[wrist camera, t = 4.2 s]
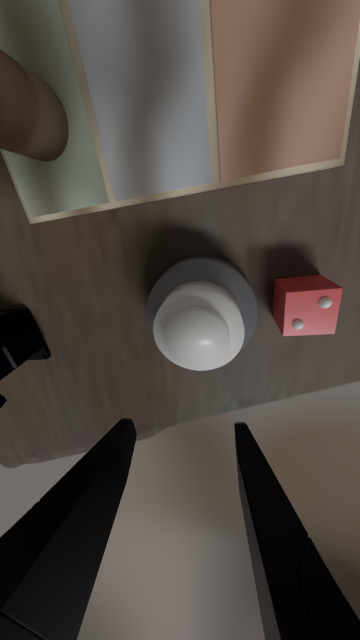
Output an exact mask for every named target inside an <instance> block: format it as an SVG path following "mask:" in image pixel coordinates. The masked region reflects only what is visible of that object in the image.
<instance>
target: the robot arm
mask: <svg viewBox="0 0 360 640" xmlns="http://www.w3.org/2000/svg"><path fill="white" fill-rule="evenodd" d="M50 356H51V354H50V352H49V350H48V348H47V346H46V344H45V342H44V340H43V338H42V335H41V333H40V331H39V329H38V327H37V325H36V323H35V321H34V319H33V317H32V315H31V313H30V311H29V310H28V309H26V308H22V309H11V310H0V380H2V379H3V378H4V377H5V376H7V375H8V374H9V373H11V372H12V371H13V370H15V369H16V368H18V367H19V366H20V365H22V364H23V363H24V362H25V361H27V360H42V359H48V358H49V357H50ZM5 402H6V399H5V397H4V396H2V395H1V394H0V408H1V407H2V406H3V404H4V403H5ZM234 428H235V443H236V458H237V472H238V483H239V492H240V499H241V505H242V510H243V516H244V521H245V527H246V533H247V539H248V544H249V550H250V555H251V561H252V567H253V572H254V578H255V584H256V590H257V595H258V601H259V607H260V612H261V617H262V624H263V629H264V634H265V640H360V620H359V618H358V617H357V615H356V613H355V612H354V610H353V609H352V607H351V606H350V604H349V602H348V601H347V599H346V598H345V596H344V594H343V593H342V591H341V590H340V588H339V587H338V585H337V583H336V582H335V580H334V578H333V577H332V575H331V573H330V571H329V570H328V568H327V566H326V565H325V563H324V561H323V559H322V558H321V556H320V554H319V552H318V551H317V549H316V547H315V545H314V543H313V542H312V540H311V538H309V537H308V533H307V531H306V530H305V528H304V526H303V524H302V522H301V521H300V519H299V517H298V515H297V513H296V512H295V510H294V508H293V506H292V505H291V503H290V501H289V499H288V497H287V496H286V494H285V492H284V491H283V489H282V487H281V485H280V483H279V481H278V480H277V478H276V476H275V474H274V472H273V471H272V469H271V467H270V465H269V464H268V462H267V460H266V458H265V456H264V455H263V453H262V451H261V449H260V447H259V446H258V444H257V442H256V440H255V439H254V437H253V435H252V433H251V431H250V430H249V428H248V426H247V425H246V423H244V422H236V423H235V424H234ZM136 436H137V433H136V429H135V426H134V423H133V421H132V419H126V418H123V419H121V420H120V421H119V422H118V423H117V424H116V425H115V426H114V427H113V428H112V429H111V430H110V431H109V432H108V433H107V434H106V435H105V436H104V437H103V438H102V439H101V440H100V441H99V442H98V443H97V444H96V445H94V446H93V447H92V448H91V449H90V450H89V451H88V452H87V453H86V454H85V455H84V456H83V457H82V459H80V460H79V461H78V462H77V463H76V464H75V465H74V466H73V467H72V468H71V469H70V470H69V471H68V472H67V473H66V474H65V475H64V476H63V477H62V478H61V479H60V480H59V481H58V482H57V483H56V484H55V485H54V486H53V487H52V488H51V489H50V490H49V491H48V492H47V493H46V494H45V495H44V496H43V497H42V498H41V499H40V501H39V502H37V503H36V504H35V505H34V506H33V507H32V508H31V509H30V510H29V511H28V512H27V513H26V514H25V515H24V516H23V517H22V518H20V519H19V520H18V521H17V522H16V523H15V524H14V525H13V526H12V527H11V528H10V529H9V530H8V531H7V532H6V533H5V534H4V535H2V536H1V537H0V640H77V637H78V634H79V630H80V627H81V624H82V621H83V618H84V614H85V611H86V608H87V605H88V602H89V599H90V595H91V592H92V589H93V586H94V583H95V580H96V577H97V573H98V570H99V567H100V564H101V561H102V558H103V554H104V551H105V548H106V545H107V542H108V539H109V535H110V532H111V529H112V526H113V523H114V519H115V516H116V513H117V510H118V506H119V504H120V500H121V497H122V494H123V491H124V488H125V485H126V481H127V478H128V474H129V469H130V465H131V460H132V455H133V451H134V446H135V441H136Z"/></svg>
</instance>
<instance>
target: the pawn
mask: <svg viewBox="0 0 360 640" xmlns="http://www.w3.org/2000/svg"><path fill="white" fill-rule="evenodd" d="M68 134H69V128H68V120H67V115H66V112H65V109H64V107H63V104H62V102H61V100H60V99H59V97H58V96H57V94H56V93H55V92H54V90H53V89H52V88H51V87H50V86H49V85H47V84H46V83H45V82H43V81H42V80H41V79H39V78H38V77H37V76H36V75H34V74H33V73H32V72H30V71H29V70H28V69H26V68H25V67H24V66H22V65H21V64H20V63H18V62H17V61H16V60H14V59H13V58H12V57H10V56H9V55H8V54H7V53H5V52H4V51H3V50H1V49H0V149H3V150H6V151H10V152H13V153H16V154H20V155H23V156H26V157H30V158H33V159H36V160H40V161H45V162H48V161H53V160H55V159H57V158H58V157H59V156H61V154H62V153H63V152H64V150H65V148H66V145H67V141H68Z"/></svg>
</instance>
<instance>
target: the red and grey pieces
mask: <svg viewBox="0 0 360 640" xmlns="http://www.w3.org/2000/svg"><path fill="white" fill-rule="evenodd" d="M198 280H202V281H209V282H213V283H216V284H218V285H220V286H222V287H224V288H225V289H227V290H228V291H229V292H230V293H231V294H232V295H233V296H234V298H235V299H236V301H237V303H238V305H239V308H240V312H241V316H242V320H243V324H244V331H245V333H244V341H243V344H242V347H241V349H240V350H242V349H243V348H244V347H245V346H246V345H247V343H248V342H249V341H250V339H251V338H252V336H253V334H254V332H255V329H256V326H257V322H258V306H257V301H256V298H255V296H254V293H253V291H252V289H251V287H250V284H249V282H248V280H247V279H246V277H245V275H244V274H243V273H242V272H241V271H240V270H239V269H238V268H237V267H236V266H235V265H234V264H232V263H231V262H229V261H227V260H225V259H223V258H220V257H217V256H212V255H195V256H190V257H187V258H184V259H182V260H180V261H178V262H176V263H175V264H173V265H172V266H171V267H170V268H169V269H168V270H167V271H166V272H165V273H164V274H163V275H162V276H161V278H160V279H159V280H158V281H157V282H156V284H155V285H154V287H153V288H152V290H151V292H150V295H149V297H148V301H147V308H146V314H147V321H148V325H149V328H150V330H151V332H152V334H153V324H154V319H155V316H156V314H157V312H158V310H159V308H160V307H161V305H162V304H163V302H164V300H165V299H166V297H167V296H168V294H169V293H170V292H171V291H172V290H173V289H175V288H176V287H178V286H179V285H181V284H184V283H187V282H190V281H198ZM342 291H343V288H342V287H340V286H339V285H337V284H335V283H334V282H332V281H330V280H329V279H327V278H325V277H324V276H322V275H312V276H301V277H291V278H281V279H274V298H273V318H274V320H275V322H276V324H277V325H278V327H279V329H280V331H281V333H282V335H283V336H297V335H319V334H335V329H336V323H337V318H338V312H339V307H340V301H341V296H342ZM153 336H154V334H153Z"/></svg>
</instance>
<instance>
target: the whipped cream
mask: <svg viewBox="0 0 360 640" xmlns="http://www.w3.org/2000/svg"><path fill="white" fill-rule="evenodd" d="M244 333H245V331H244V324H243V320H242V316H241V312H240V308H239V305H238V303H237V301H236V299H235V298H234V296H233V295H232V294H231V293H230V292H229V291H228V290H227V289H225V288H224V287H222V286H220V285H218V284H216V283H213V282H209V281H202V280H198V281H190V282H187V283H184V284H181V285H179V286H178V287H176V288H175V289H173V290H172V291H171V292H170V293H169V294H168V296H167V297H166V299H165V300H164V302H163V304H162V305H161V307H160V308H159V310H158V312H157V314H156V316H155V319H154V324H153V334H154V338H155V342H156V344H157V346H158V348H159V349H160V351H161V352H162V353H163V354H164V355H165V356H166V357H167V358H168V359H169V360H170V361H172V362H173V363H175V364H177V365H179V366H181V367H184V368H187V369H191V370H200V371H203V370H211V369H215V368H218V367H221V366H223V365H225V364H227V363H228V362H230V361H231V360H232V359H233V358H234V357H235V356H236V355H237V354H238V352H239V351H240V349H241V347H242V344H243V341H244Z"/></svg>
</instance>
